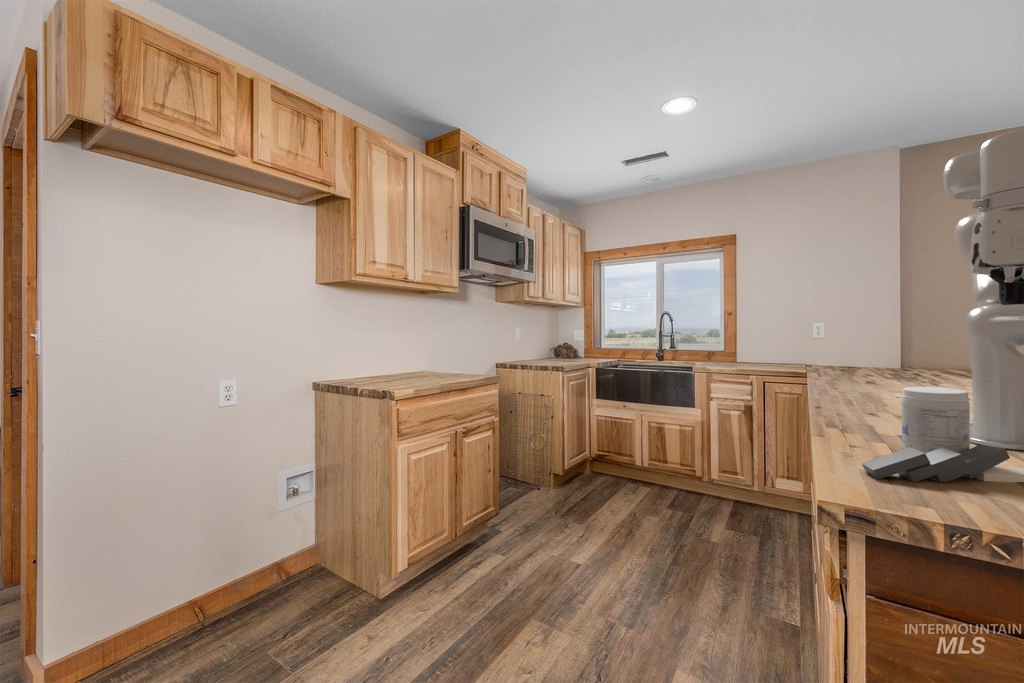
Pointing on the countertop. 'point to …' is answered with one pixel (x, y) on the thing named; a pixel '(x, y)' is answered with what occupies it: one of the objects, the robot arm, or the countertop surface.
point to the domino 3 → (966, 465)
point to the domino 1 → (895, 463)
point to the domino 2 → (935, 464)
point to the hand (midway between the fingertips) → (1013, 304)
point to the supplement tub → (935, 419)
